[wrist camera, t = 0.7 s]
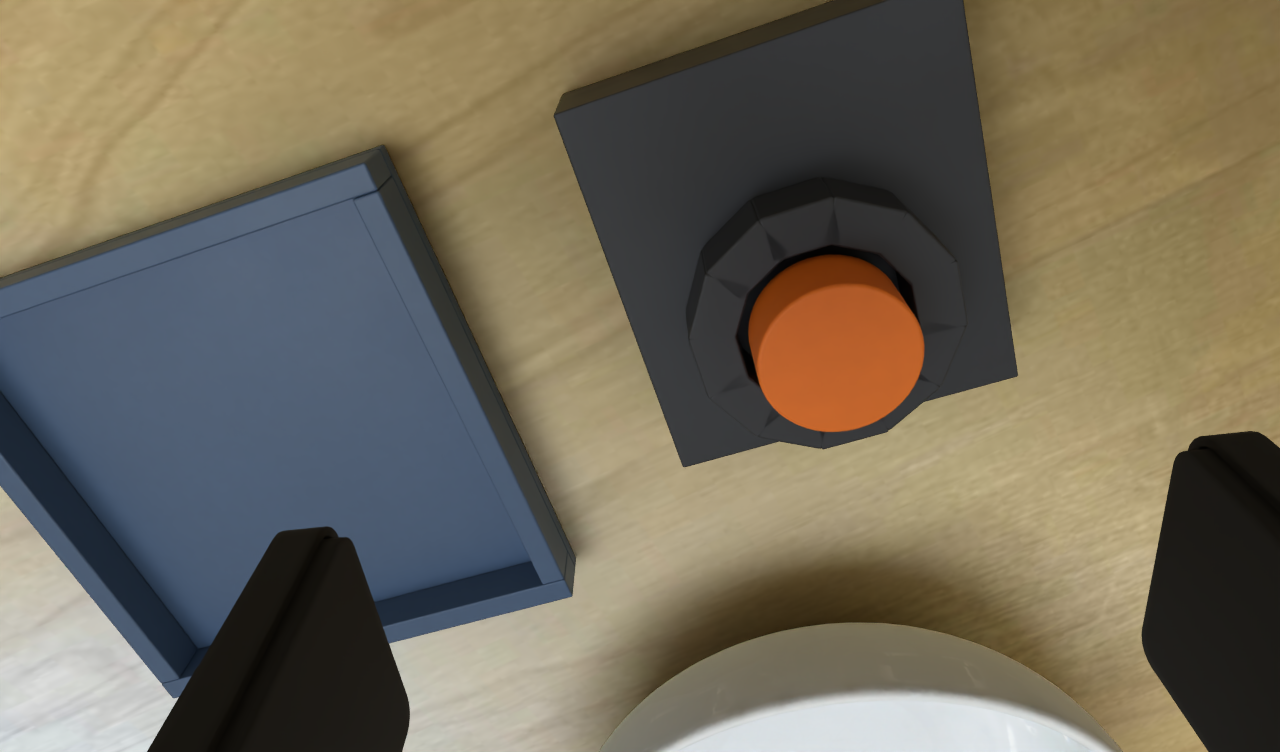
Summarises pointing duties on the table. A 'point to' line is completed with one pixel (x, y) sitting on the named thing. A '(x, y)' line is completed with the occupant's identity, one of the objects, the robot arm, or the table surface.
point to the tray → (268, 416)
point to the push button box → (794, 202)
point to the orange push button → (834, 343)
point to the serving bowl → (859, 698)
